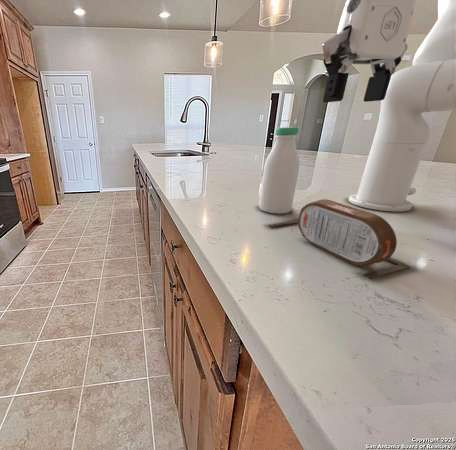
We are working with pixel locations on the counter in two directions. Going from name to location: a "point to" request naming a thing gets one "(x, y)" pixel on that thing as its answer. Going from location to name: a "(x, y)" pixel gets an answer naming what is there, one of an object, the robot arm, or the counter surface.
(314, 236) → the tin
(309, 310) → the counter surface
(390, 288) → the counter surface
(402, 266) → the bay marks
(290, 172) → the milk bottle
